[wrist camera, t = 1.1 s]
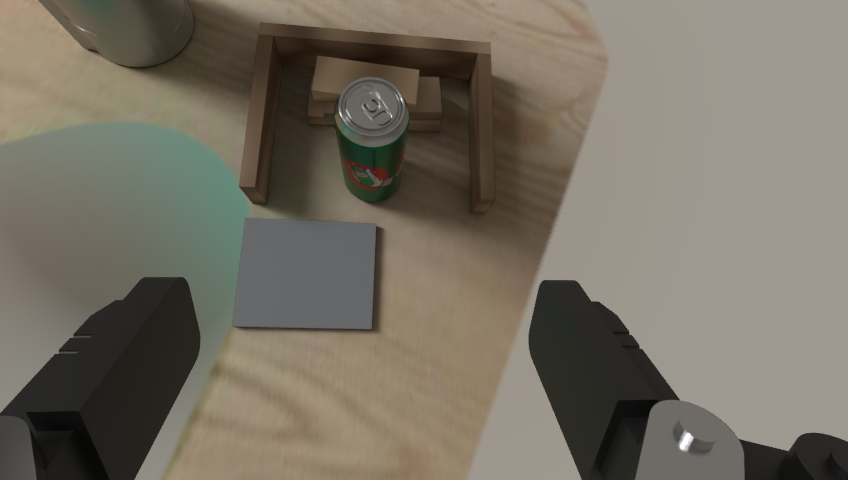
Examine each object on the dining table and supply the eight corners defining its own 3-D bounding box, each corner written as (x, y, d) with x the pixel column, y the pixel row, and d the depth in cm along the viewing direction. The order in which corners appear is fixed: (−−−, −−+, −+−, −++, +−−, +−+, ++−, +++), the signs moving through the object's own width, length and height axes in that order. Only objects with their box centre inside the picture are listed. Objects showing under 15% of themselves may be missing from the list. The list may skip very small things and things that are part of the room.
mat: (234, 326, 35) (231, 326, 35) (247, 219, 37) (245, 217, 37) (371, 329, 36) (371, 328, 36) (376, 225, 39) (376, 223, 38)
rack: (252, 203, 38) (239, 186, 34) (270, 52, 42) (260, 22, 38) (483, 214, 40) (495, 199, 36) (480, 70, 44) (490, 42, 40)
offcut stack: (309, 128, 40) (301, 102, 36) (313, 83, 41) (306, 54, 37) (438, 136, 41) (445, 112, 37) (438, 93, 43) (445, 66, 39)
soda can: (376, 142, 41) (378, 58, 29) (411, 182, 40) (427, 112, 28) (332, 173, 39) (315, 97, 28) (368, 215, 39) (365, 156, 27)
